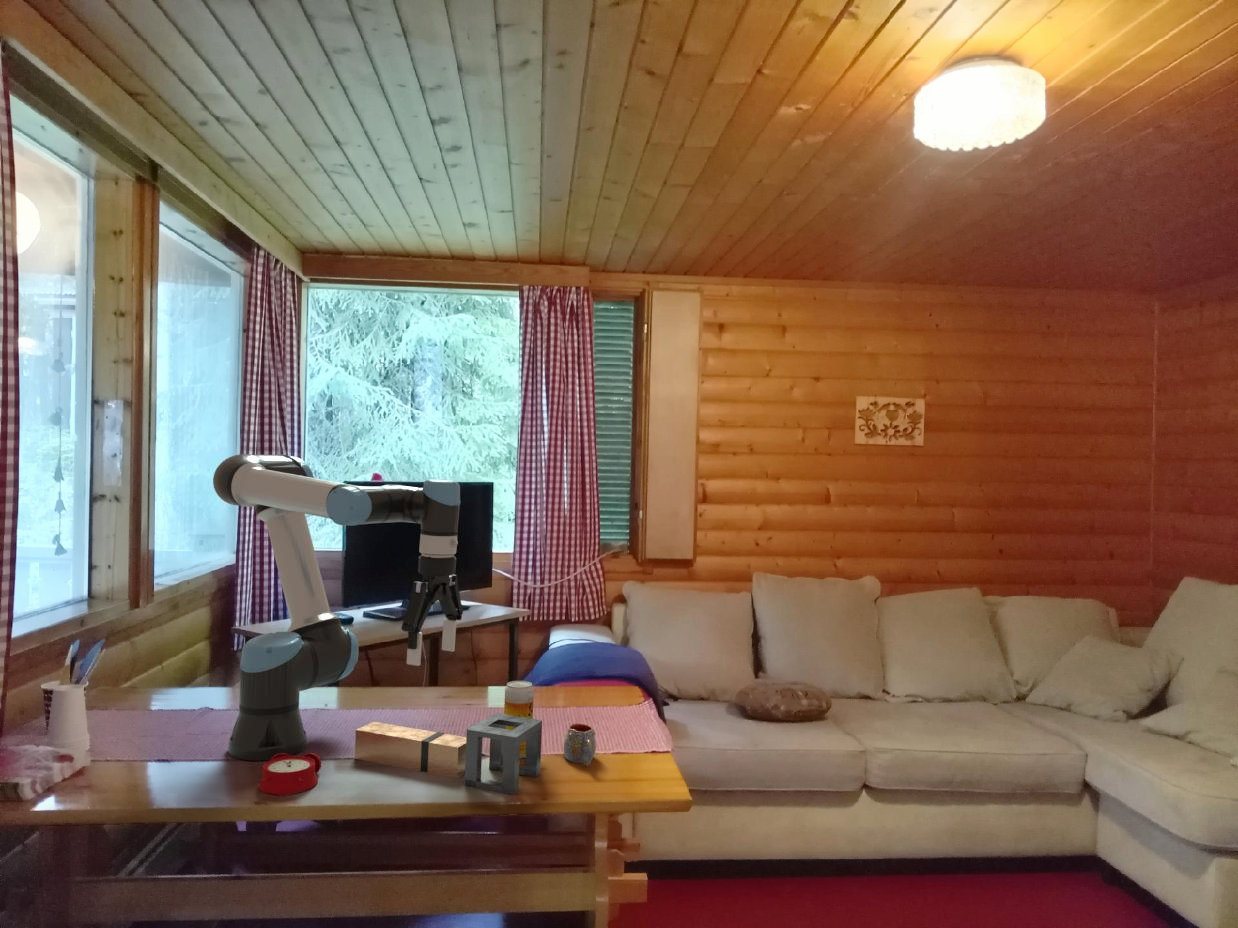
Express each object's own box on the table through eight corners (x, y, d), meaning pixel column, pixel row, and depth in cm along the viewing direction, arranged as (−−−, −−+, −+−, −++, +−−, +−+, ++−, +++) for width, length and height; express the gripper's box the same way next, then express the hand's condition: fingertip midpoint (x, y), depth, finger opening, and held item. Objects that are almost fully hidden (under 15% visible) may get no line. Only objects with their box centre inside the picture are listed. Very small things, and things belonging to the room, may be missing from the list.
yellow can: (526, 760, 178) (528, 688, 178) (498, 757, 179) (501, 686, 179) (534, 750, 184) (537, 681, 184) (507, 747, 185) (510, 678, 185)
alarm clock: (250, 779, 153) (272, 733, 168) (251, 809, 155) (272, 762, 169) (310, 778, 155) (327, 733, 169) (311, 808, 156) (327, 761, 171)
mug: (560, 753, 183) (561, 722, 183) (591, 751, 185) (592, 720, 185) (571, 773, 172) (572, 741, 171) (604, 771, 173) (605, 739, 173)
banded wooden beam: (354, 758, 175) (355, 729, 175) (372, 749, 181) (373, 720, 181) (456, 778, 167) (458, 746, 167) (472, 767, 172) (473, 737, 172)
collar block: (464, 785, 163) (466, 729, 163) (493, 765, 174) (495, 712, 174) (513, 794, 159) (516, 737, 159) (540, 773, 170) (542, 720, 170)
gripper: (421, 563, 162) (414, 673, 163) (482, 550, 186) (476, 647, 186) (387, 559, 165) (380, 668, 165) (452, 547, 188) (446, 642, 189)
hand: (431, 657), depth 176 cm, fingers open, 13 cm apart
